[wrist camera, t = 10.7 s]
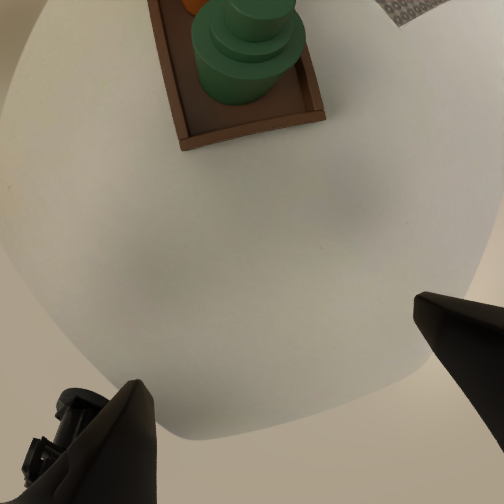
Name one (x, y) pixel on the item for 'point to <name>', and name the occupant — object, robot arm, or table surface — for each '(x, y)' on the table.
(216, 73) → the green bottle
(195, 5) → the amber bottle middle
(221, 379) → the table surface
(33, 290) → the table surface
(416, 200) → the table surface
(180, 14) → the tray
